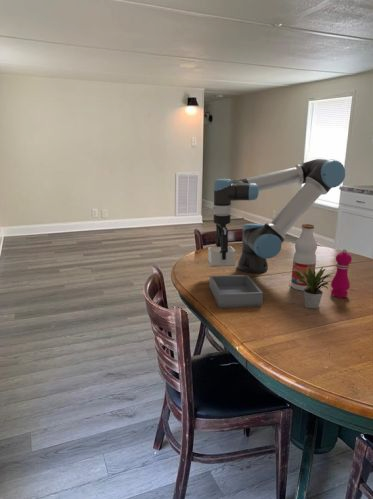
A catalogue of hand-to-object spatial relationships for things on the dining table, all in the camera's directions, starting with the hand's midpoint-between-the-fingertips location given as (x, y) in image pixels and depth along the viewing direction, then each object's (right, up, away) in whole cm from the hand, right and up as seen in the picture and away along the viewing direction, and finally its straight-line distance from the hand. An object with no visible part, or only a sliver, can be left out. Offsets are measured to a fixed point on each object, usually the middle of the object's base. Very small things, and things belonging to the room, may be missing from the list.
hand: (221, 263), depth 172 cm
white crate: (0, 0, 0) cm, 0 cm away
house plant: (+33, -16, -28) cm, 46 cm away
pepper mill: (+48, -13, -15) cm, 52 cm away
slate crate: (+4, -13, -18) cm, 23 cm away
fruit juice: (+35, -11, -7) cm, 37 cm away
